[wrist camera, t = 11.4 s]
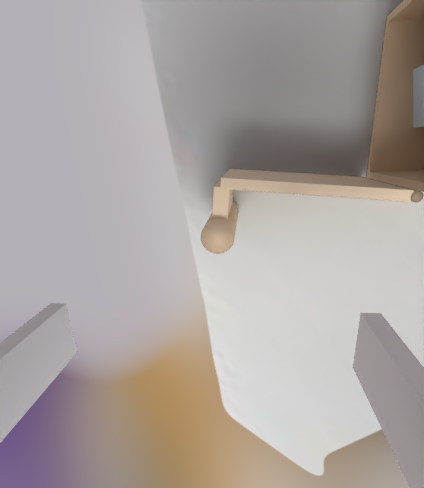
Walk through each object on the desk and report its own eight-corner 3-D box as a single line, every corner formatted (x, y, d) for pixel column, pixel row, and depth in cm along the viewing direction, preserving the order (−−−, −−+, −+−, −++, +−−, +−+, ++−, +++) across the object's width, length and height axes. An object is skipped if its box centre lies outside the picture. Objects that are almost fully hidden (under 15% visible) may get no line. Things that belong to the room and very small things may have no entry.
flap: (217, 167, 30) (203, 176, 21) (366, 177, 28) (424, 191, 19) (214, 221, 32) (200, 252, 22) (354, 232, 30) (401, 270, 21)
